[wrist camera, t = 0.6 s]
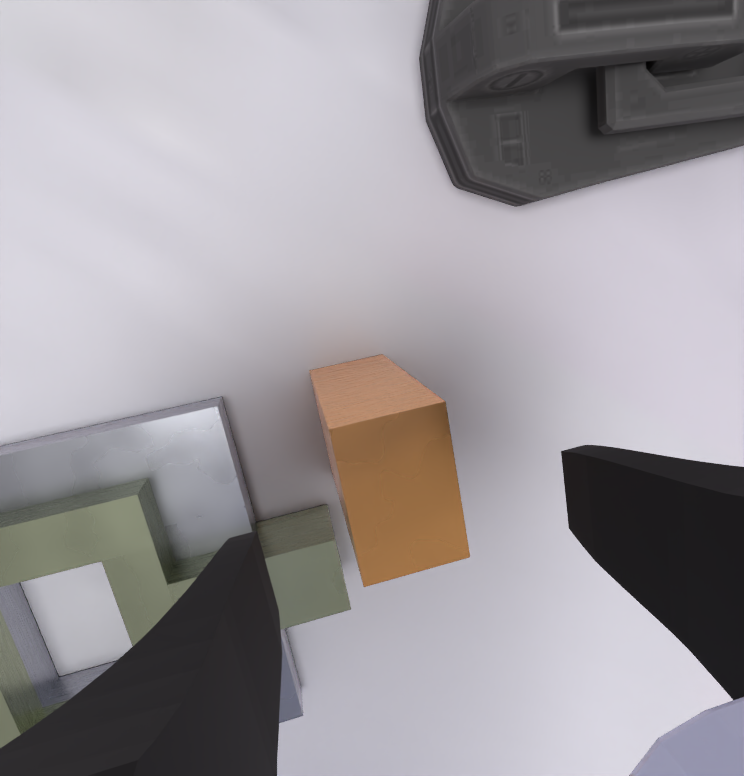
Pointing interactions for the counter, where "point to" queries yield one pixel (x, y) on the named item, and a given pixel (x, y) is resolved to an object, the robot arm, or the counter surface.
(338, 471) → the wooden rectangular peg
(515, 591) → the counter surface
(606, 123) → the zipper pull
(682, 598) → the robot arm
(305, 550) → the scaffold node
